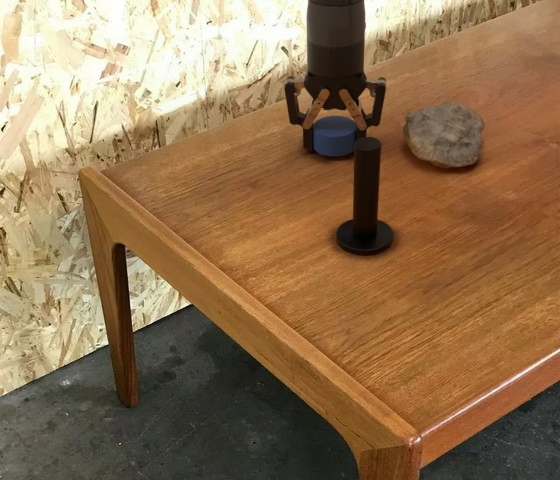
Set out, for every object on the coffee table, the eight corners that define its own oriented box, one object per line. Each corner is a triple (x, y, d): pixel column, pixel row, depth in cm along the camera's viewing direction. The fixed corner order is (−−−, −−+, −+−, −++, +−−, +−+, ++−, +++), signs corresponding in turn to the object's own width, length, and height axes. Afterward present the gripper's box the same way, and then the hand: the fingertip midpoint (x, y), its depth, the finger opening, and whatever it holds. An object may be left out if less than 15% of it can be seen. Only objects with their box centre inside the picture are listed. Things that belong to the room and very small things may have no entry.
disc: (357, 135, 115) (358, 115, 113) (355, 156, 111) (355, 137, 109) (314, 134, 116) (314, 115, 114) (311, 155, 112) (311, 136, 110)
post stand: (393, 223, 101) (399, 128, 91) (392, 256, 96) (398, 159, 86) (338, 221, 101) (338, 127, 92) (334, 254, 96) (334, 158, 87)
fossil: (483, 174, 107) (434, 130, 102) (436, 199, 113) (388, 158, 108) (492, 111, 112) (446, 66, 108) (447, 137, 119) (401, 96, 114)
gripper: (277, 44, 100) (282, 162, 112) (391, 45, 99) (384, 165, 111) (283, 21, 106) (287, 136, 118) (392, 21, 104) (385, 138, 116)
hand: (334, 150), depth 114 cm, fingers closed on disc, 6 cm apart
